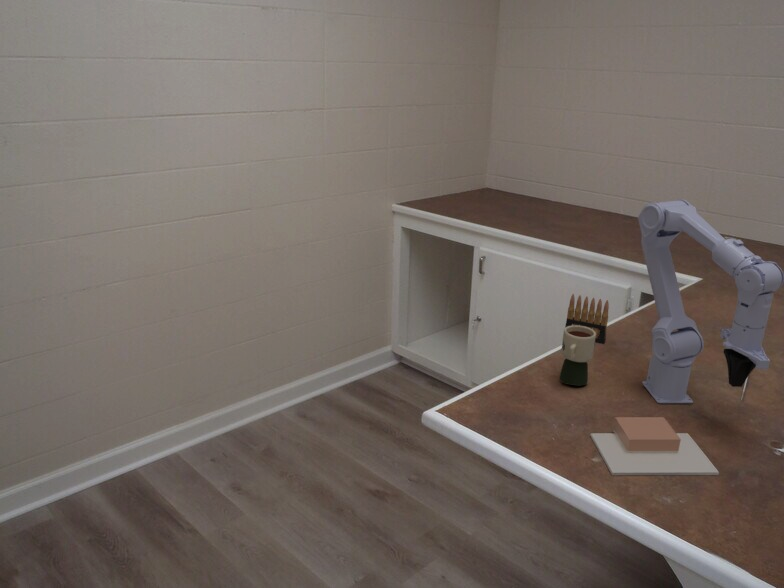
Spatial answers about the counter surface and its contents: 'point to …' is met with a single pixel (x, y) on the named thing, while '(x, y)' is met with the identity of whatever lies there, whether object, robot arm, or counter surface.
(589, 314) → the ammunition clip
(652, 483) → the counter surface
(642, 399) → the counter surface
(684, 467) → the board
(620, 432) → the tile
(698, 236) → the robot arm
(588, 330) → the character mug
